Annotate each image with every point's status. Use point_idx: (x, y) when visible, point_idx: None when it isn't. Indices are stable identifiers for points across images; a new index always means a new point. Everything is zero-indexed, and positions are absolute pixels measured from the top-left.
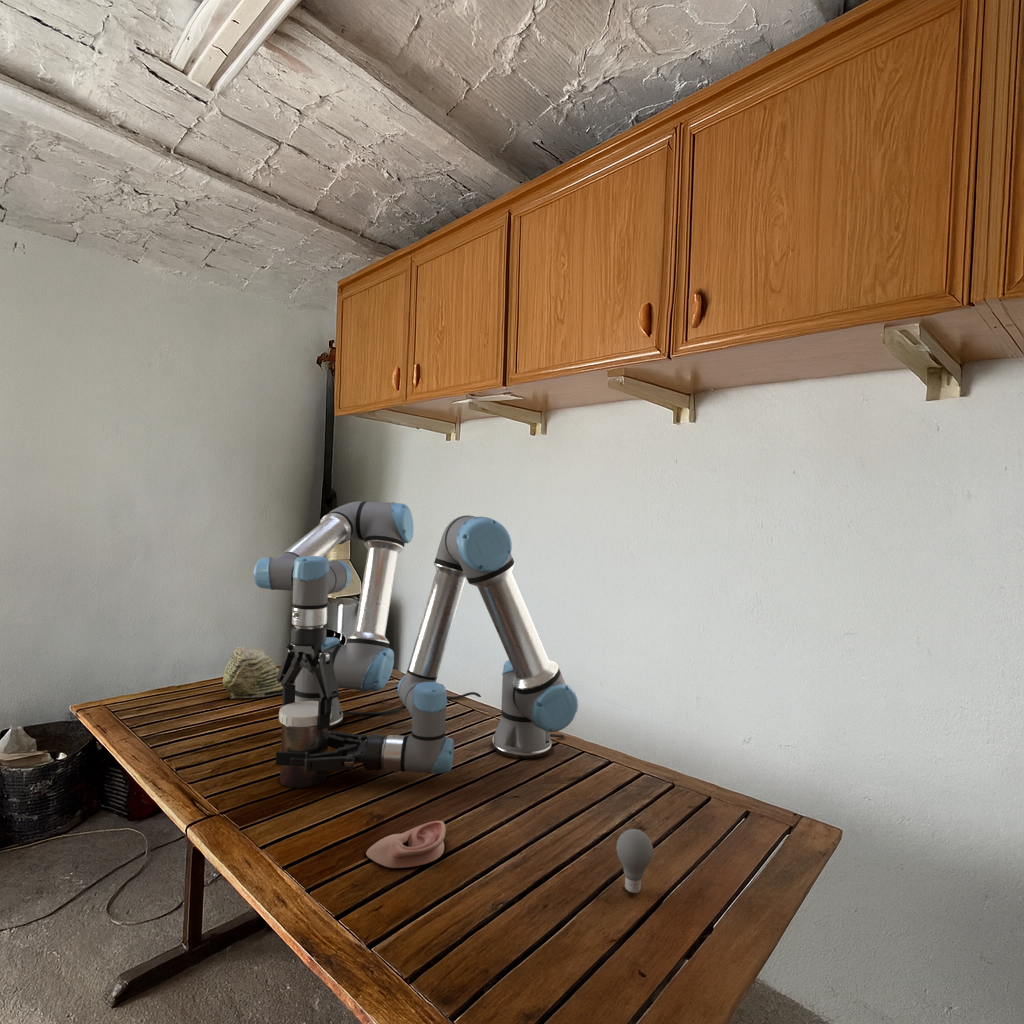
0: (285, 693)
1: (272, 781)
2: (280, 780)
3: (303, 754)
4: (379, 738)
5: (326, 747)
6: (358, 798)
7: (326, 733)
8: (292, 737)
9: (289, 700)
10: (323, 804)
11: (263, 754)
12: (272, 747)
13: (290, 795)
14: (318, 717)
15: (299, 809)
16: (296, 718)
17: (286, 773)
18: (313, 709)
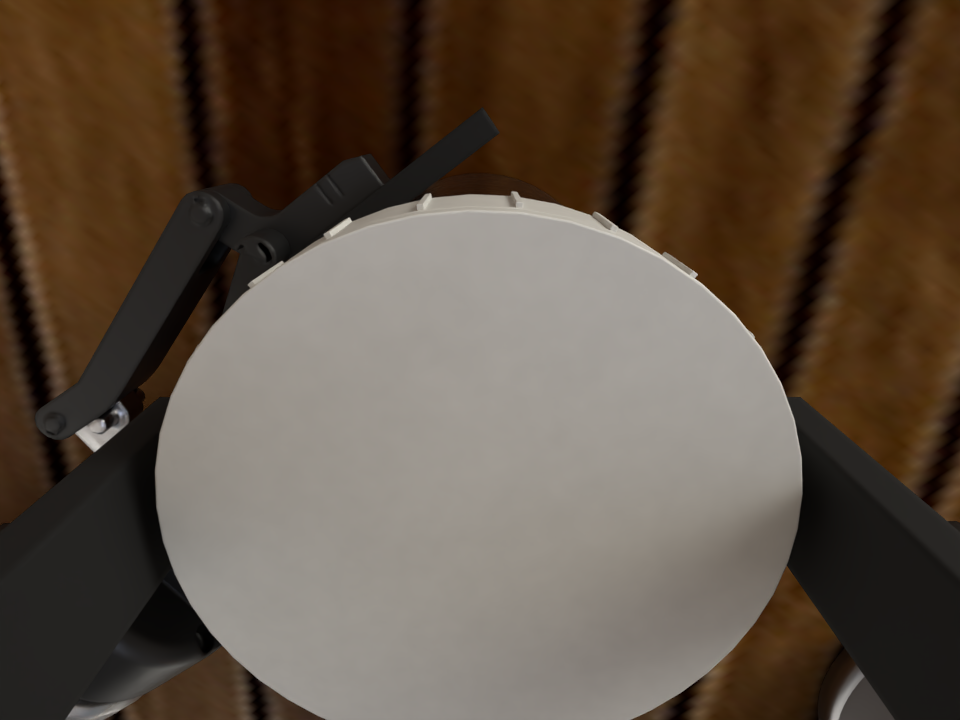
0: (944, 576)
1: (569, 160)
2: (524, 182)
3: (311, 243)
4: None
5: None
6: (98, 334)
7: None
8: None
9: (844, 551)
10: (143, 181)
11: (891, 327)
12: (917, 408)
13: (349, 124)
14: (109, 465)
15: (167, 55)
16: (273, 272)
17: (458, 180)
18: (391, 572)
